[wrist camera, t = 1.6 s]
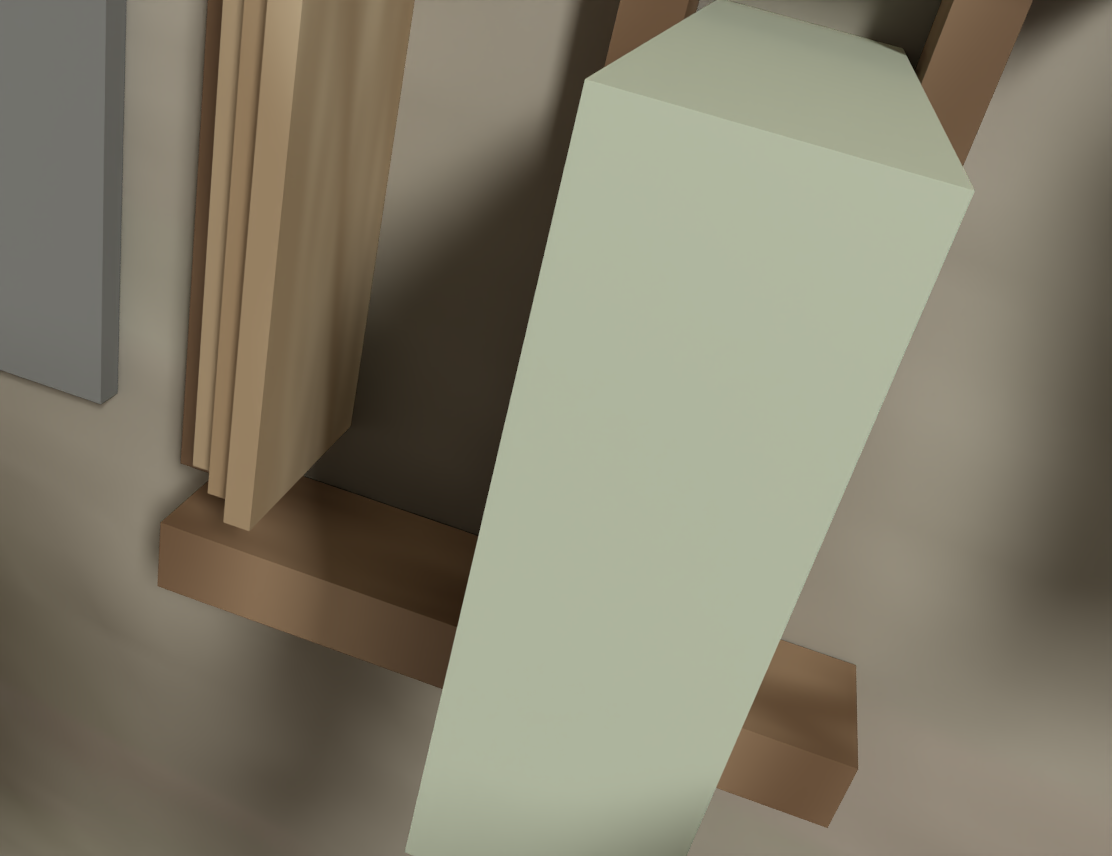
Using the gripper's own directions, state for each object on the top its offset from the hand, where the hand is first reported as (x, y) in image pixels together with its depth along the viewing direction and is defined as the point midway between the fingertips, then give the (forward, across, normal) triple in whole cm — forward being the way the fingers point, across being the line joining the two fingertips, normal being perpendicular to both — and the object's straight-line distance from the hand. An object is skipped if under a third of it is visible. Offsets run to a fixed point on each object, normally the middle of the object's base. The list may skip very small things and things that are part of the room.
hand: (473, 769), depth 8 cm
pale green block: (+12, -1, 0) cm, 12 cm away
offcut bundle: (+12, +7, 0) cm, 14 cm away
